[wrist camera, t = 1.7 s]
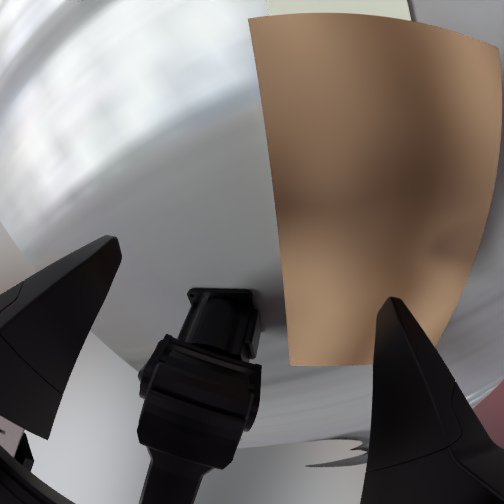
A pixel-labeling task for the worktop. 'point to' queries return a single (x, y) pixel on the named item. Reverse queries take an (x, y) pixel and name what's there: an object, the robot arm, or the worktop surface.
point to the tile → (341, 7)
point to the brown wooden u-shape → (374, 170)
